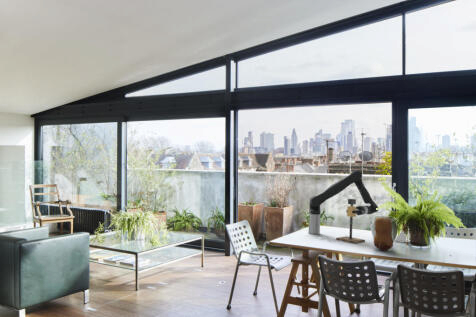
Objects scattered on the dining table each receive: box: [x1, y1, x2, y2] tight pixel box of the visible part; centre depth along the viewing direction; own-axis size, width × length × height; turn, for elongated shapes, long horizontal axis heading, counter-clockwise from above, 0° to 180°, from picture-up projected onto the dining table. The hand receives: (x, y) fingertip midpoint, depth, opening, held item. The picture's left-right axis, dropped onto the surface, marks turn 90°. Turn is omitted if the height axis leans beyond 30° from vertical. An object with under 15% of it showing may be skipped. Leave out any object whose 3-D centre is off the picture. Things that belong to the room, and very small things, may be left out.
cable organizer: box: [394, 231, 406, 243], centre depth 348 cm, size 15×11×12 cm
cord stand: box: [335, 198, 366, 244], centre depth 344 cm, size 18×14×34 cm
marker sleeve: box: [346, 205, 357, 218], centre depth 343 cm, size 5×5×8 cm
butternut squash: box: [373, 216, 394, 252], centre depth 311 cm, size 14×13×25 cm
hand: (349, 211), depth 342 cm, fingers closed on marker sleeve, 5 cm apart
